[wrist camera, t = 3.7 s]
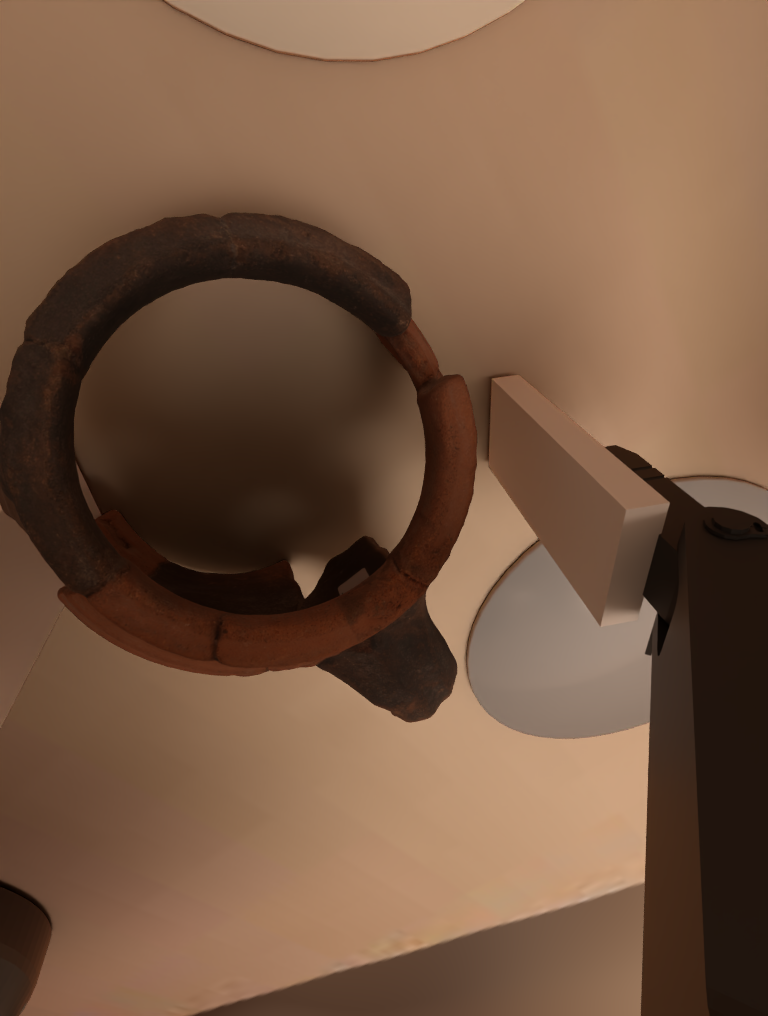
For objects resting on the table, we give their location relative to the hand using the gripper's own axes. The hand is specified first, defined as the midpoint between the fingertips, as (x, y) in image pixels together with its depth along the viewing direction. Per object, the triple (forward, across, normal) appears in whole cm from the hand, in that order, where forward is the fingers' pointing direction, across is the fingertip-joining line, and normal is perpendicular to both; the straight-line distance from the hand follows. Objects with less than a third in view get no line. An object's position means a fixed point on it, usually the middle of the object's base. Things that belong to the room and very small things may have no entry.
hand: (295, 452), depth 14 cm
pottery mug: (+1, 0, 0) cm, 1 cm away
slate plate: (0, -12, +10) cm, 16 cm away
